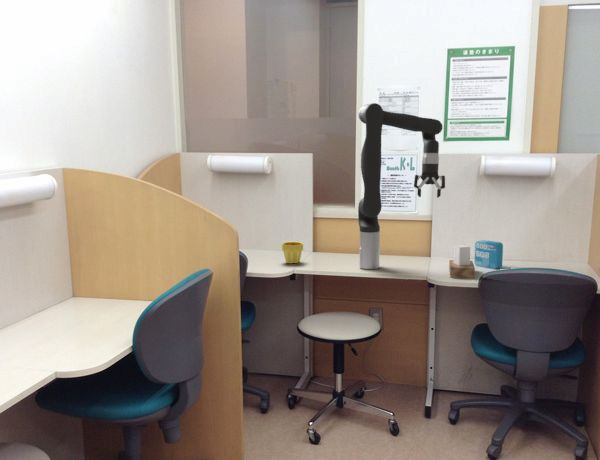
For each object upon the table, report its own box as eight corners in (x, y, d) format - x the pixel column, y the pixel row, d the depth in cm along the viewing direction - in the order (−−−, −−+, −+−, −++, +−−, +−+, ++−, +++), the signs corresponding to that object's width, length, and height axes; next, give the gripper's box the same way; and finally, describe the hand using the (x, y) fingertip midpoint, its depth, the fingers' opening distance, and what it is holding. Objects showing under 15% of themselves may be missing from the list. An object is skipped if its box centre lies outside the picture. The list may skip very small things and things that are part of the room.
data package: (474, 265, 277) (474, 240, 275) (479, 264, 280) (480, 239, 278) (496, 269, 268) (497, 243, 266) (502, 268, 270) (503, 242, 269)
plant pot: (303, 265, 283) (302, 245, 282) (281, 265, 284) (281, 245, 282) (303, 260, 293) (303, 241, 292) (283, 260, 294) (282, 241, 292)
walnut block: (450, 278, 253) (450, 267, 253) (449, 270, 269) (449, 260, 268) (474, 279, 251) (474, 268, 250) (471, 271, 267) (472, 260, 266)
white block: (459, 265, 256) (459, 247, 255) (453, 263, 261) (453, 245, 260) (469, 264, 257) (470, 246, 256) (463, 262, 262) (464, 244, 261)
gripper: (416, 162, 273) (414, 197, 275) (447, 163, 272) (445, 198, 274) (414, 162, 281) (412, 196, 283) (444, 163, 280) (442, 197, 282)
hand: (428, 197), depth 278 cm, fingers open, 8 cm apart
